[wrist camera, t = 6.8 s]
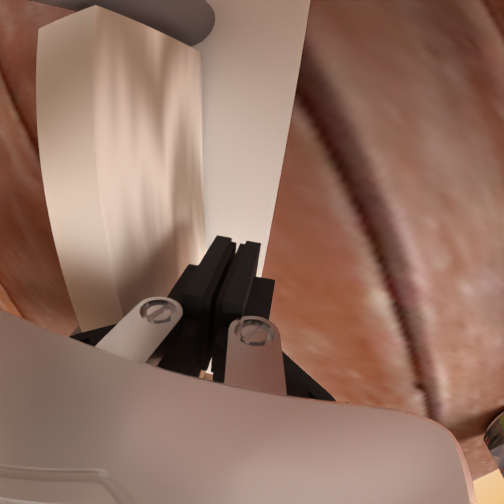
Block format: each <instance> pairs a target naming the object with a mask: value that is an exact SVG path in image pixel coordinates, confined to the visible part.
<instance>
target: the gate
mask: <svg viewBox="0 0 504 504" xmlns="http://www.w3.org/2000/svg"><path fill="white" fill-rule="evenodd" d="M36 113H37V131H38V143H39V154H40V163H41V171H42V178H43V185H44V191H45V197H46V203H47V209H48V214H49V219H50V224H51V229H52V233H53V238H54V242H55V246H56V250H57V254H58V258H59V262H60V266H61V269H62V273H63V276H64V280H65V283H66V287H67V290H68V293H69V296H70V299H71V303H72V306H73V309H74V312H75V314H76V317H77V320H78V323H79V326H80V329H81V331H82V332H86V331H90V330H94V329H98V328H101V327H105V326H109V325H113V324H117V323H119V322H120V321H121V320H122V319H123V318H124V317H125V316H126V315H127V314H128V313H129V312H130V311H131V310H132V309H133V308H134V307H135V306H136V305H137V304H138V303H140V302H141V301H143V300H145V299H147V298H151V297H167V296H168V295H169V293H170V291H171V290H172V288H173V287H174V285H175V284H176V282H177V281H178V279H179V278H180V276H181V275H182V273H183V272H184V270H185V269H186V267H187V266H188V265H189V264H193V265H199V264H200V262H201V260H202V259H203V257H204V255H205V254H206V252H207V251H206V233H205V211H204V185H203V147H202V53H201V52H199V51H197V50H196V49H194V48H192V47H190V46H188V45H186V44H184V43H182V42H180V41H178V40H176V39H174V38H172V37H170V36H168V35H166V34H164V33H162V32H160V31H157V30H155V29H153V28H151V27H149V26H146V25H144V24H142V23H140V22H137V21H135V20H133V19H130V18H128V17H125V16H123V15H120V14H118V13H115V12H113V11H110V10H108V9H105V8H102V7H100V6H97V5H94V6H92V7H89V8H86V9H83V10H81V11H78V12H76V13H73V14H71V15H68V16H66V17H63V18H61V19H59V20H56V21H54V22H52V23H50V24H48V25H45V26H43V27H41V28H39V32H38V44H37V61H36ZM204 374H205V371H203V370H201V373H200V376H199V378H202V379H203V377H204Z"/></svg>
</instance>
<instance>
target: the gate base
mask: <svg viewBox="0 0 504 504" xmlns="http://www.w3.org/2000/svg"><path fill="white" fill-rule="evenodd" d="M29 1H35V2H39V3H44V4H49V5H53V6H57V7H61V8H65V9H69V10H73V11H77V12H78V11H81V10H83V9H86V8H89V7H92V6H94V5H97V6H100V7H102V8H105V9H108V10H110V11H113V12H115V13H118V14H120V15H123V16H125V17H128V18H130V19H133V20H135V21H137V22H140V23H142V24H144V25H146V26H149V27H151V28H153V29H155V30H157V31H160V32H162V33H164V34H166V35H168V36H170V37H172V38H174V39H176V40H178V41H180V42H182V43H184V44H186V45H188V46H190V47H192V48H194V49H196V50H197V51H199V52H201V53H202V147H203V185H204V211H205V233H206V251H207V250H208V249H209V247H210V246H211V244H212V242H213V241H214V239H215V238H216V236H217V235H219V236H224V237H230V238H232V242H236V252H237V250H238V247H239V245H240V243H242V244H245V243H246V241H252V242H258V243H261V248H260V254H259V260H258V267H257V273H256V277H261V276H262V271H263V266H264V261H265V255H266V250H267V245H268V240H269V234H270V229H271V224H272V219H273V213H274V208H275V203H276V197H277V192H278V186H279V181H280V176H281V170H282V165H283V159H284V154H285V148H286V143H287V137H288V131H289V126H290V120H291V115H292V109H293V103H294V97H295V92H296V86H297V80H298V74H299V68H300V63H301V57H302V51H303V45H304V39H305V33H306V27H307V20H308V14H309V8H310V2H311V0H29ZM78 333H82V331H81V329H80V326H78V327H77V328H76V329H75V330H74V332H73V333H72V334H71V335H70V336H72V335H75V334H78ZM70 336H69V337H70ZM211 360H212V358H211ZM205 372H206V373H210V374H213V373H212V372H211V361H210V364H209V367H208V369H207V371H205Z"/></svg>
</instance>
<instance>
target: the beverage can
mask: <svg viewBox="0 0 504 504" xmlns="http://www.w3.org/2000/svg"><path fill="white" fill-rule="evenodd" d="M484 441H485V443H486V445H487V447H488V449H489V451H490V452H491V454H492V456H493V458H494V460H495V462H496V464H497V466H498V468H499V470H500V471H501V474H502V476H503V477H504V411H503V412H502V413H501V414H500V415H498V416H497V417H496V418H495V419H494V420H493V421H492V422H491V424H490V425H489V426H488V428H487V431H486V434H485V436H484Z"/></svg>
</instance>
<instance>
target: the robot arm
mask: <svg viewBox="0 0 504 504" xmlns="http://www.w3.org/2000/svg"><path fill="white" fill-rule="evenodd" d="M260 248H261V243H258V242H252V241H246V243H245V244H242V243H240V245H239V247H238V250H237V252H236V242H232V238H230V237H224V236H219V235H217V236H216V238H215V239H214V241H213V242H212V244H211V246H210V247H209V249H208V250H207V252H206V254H205V255H204V257H203V259H202V260H201V262H200V264H199V265H193V264H189V265H188V266H187V267H186V269H185V270H184V272H183V273H182V275H181V276H180V278H179V279H178V281H177V282H176V284H175V285H174V287H173V288H172V290H171V291H170V293H169V295H168V296H167V297H151V298H147V299H145V300H143V301H141V302H140V303H138V304H137V305H136V306H135V307H134V308H133V309H132V310H131V311H130V312H129V313H128V314H127V315H126V316H125V317H124V318H123V319H122V320H121V321H120V322H119V323H117V324H113V325H109V326H105V327H101V328H98V329H94V330H90V331H86V332H82V333H78V334H75V335H72V336H70V337H67V336H65V335H62V334H60V333H57V332H55V331H52V330H50V329H48V328H45V327H43V326H41V325H38V324H36V323H33V322H31V321H28V320H26V319H23V318H21V317H19V316H16V315H14V314H12V313H9V312H6V311H3V310H0V504H477V501H476V496H475V491H474V487H473V482H472V478H471V474H470V471H469V467H468V464H467V462H466V459H465V456H464V454H463V451H462V449H461V447H460V445H459V443H458V441H457V440H456V438H455V437H454V435H453V434H452V433H451V432H450V431H449V430H448V429H447V428H446V427H444V426H442V425H441V424H439V423H437V422H435V421H433V420H431V419H428V418H425V417H423V416H420V415H417V414H414V413H410V412H406V411H402V410H398V409H392V408H385V407H379V406H370V405H360V404H351V403H347V402H346V403H343V402H336V401H335V399H334V398H333V397H332V396H331V395H330V394H329V393H328V392H327V391H326V390H325V389H324V388H323V387H321V386H320V385H319V384H318V383H317V382H316V381H315V380H313V379H312V378H311V377H310V376H309V375H308V374H307V373H306V372H305V371H303V370H302V369H301V368H300V367H299V366H298V365H297V364H296V363H295V362H293V361H292V360H291V359H290V358H289V357H288V356H287V355H286V354H285V353H284V352H283V351H282V346H281V338H280V332H279V330H278V328H277V327H276V326H275V324H273V323H272V322H271V321H269V315H270V309H271V303H272V296H273V290H274V283H275V280H272V279H267V278H261V277H256V273H257V267H258V260H259V254H260ZM211 358H212V360H211ZM210 361H211V372H212V373H213V381H211V380H206V379H202V378H199V376H200V373H201V370H203V371H207V369H208V367H209V364H210Z"/></svg>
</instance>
